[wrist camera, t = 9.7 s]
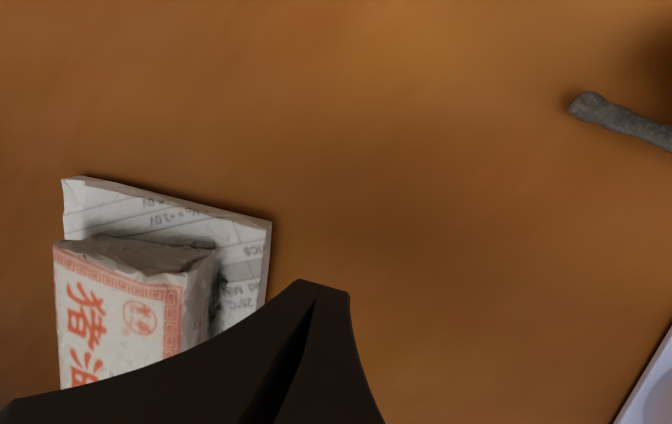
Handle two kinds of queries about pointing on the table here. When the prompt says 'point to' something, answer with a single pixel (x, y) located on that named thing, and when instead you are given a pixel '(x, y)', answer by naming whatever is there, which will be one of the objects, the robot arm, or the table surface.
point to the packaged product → (148, 277)
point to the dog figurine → (620, 119)
